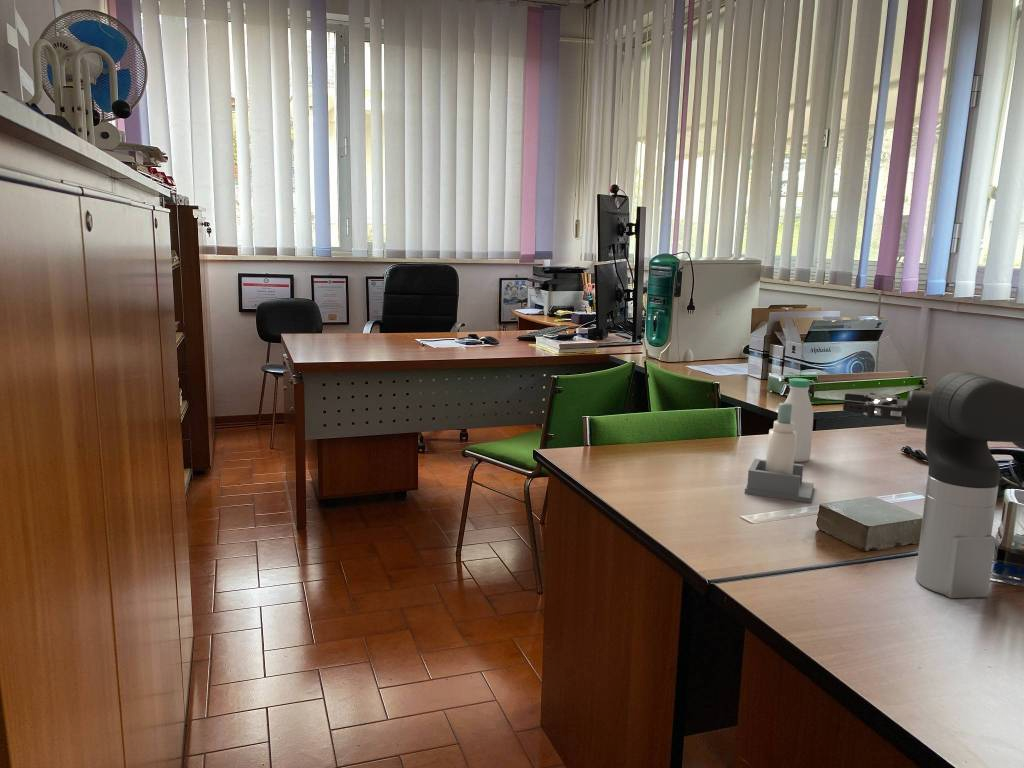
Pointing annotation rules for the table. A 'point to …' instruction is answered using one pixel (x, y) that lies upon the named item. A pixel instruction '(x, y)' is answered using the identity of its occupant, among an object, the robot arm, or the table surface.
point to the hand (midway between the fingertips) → (844, 401)
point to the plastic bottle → (781, 442)
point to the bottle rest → (778, 483)
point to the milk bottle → (801, 417)
